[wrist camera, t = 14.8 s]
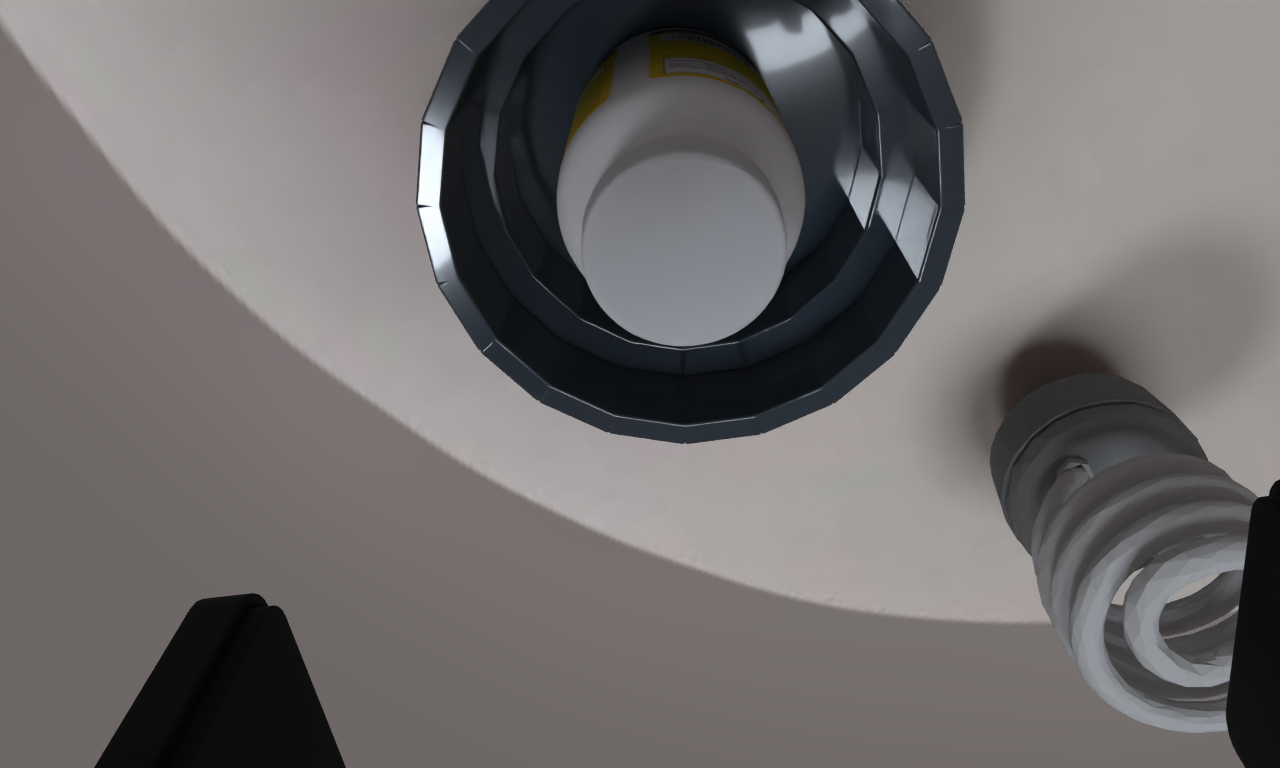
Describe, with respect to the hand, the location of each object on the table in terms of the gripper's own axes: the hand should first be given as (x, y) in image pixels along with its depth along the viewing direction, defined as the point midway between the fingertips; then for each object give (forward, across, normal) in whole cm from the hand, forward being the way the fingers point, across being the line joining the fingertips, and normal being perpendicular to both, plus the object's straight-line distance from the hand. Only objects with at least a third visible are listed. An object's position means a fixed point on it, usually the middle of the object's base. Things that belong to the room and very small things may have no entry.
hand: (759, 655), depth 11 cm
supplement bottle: (+21, +1, 0) cm, 21 cm away
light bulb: (+22, -9, +11) cm, 26 cm away
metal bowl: (+22, +1, +1) cm, 22 cm away
